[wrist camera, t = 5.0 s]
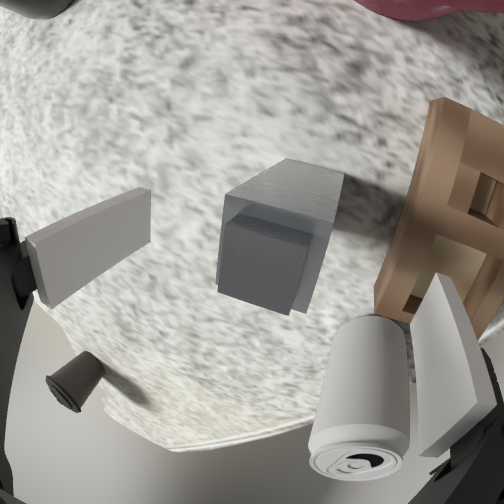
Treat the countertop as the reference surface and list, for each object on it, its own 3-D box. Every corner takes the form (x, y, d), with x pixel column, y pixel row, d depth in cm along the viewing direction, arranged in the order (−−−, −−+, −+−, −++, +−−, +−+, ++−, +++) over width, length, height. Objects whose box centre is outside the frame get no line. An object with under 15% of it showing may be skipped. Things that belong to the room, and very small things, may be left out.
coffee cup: (85, 368, 46) (54, 401, 38) (72, 338, 42) (35, 372, 34) (116, 386, 44) (83, 424, 35) (103, 356, 40) (64, 396, 32)
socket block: (430, 100, 14) (444, 97, 11) (532, 152, 12) (556, 160, 9) (373, 286, 21) (374, 313, 18) (466, 315, 19) (477, 342, 16)
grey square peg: (286, 158, 19) (210, 203, 10) (344, 173, 18) (330, 236, 9) (276, 212, 21) (202, 299, 12) (330, 227, 20) (300, 332, 11)
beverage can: (419, 333, 21) (430, 461, 11) (371, 374, 24) (356, 490, 14) (364, 296, 21) (352, 432, 11) (318, 344, 25) (283, 464, 15)
